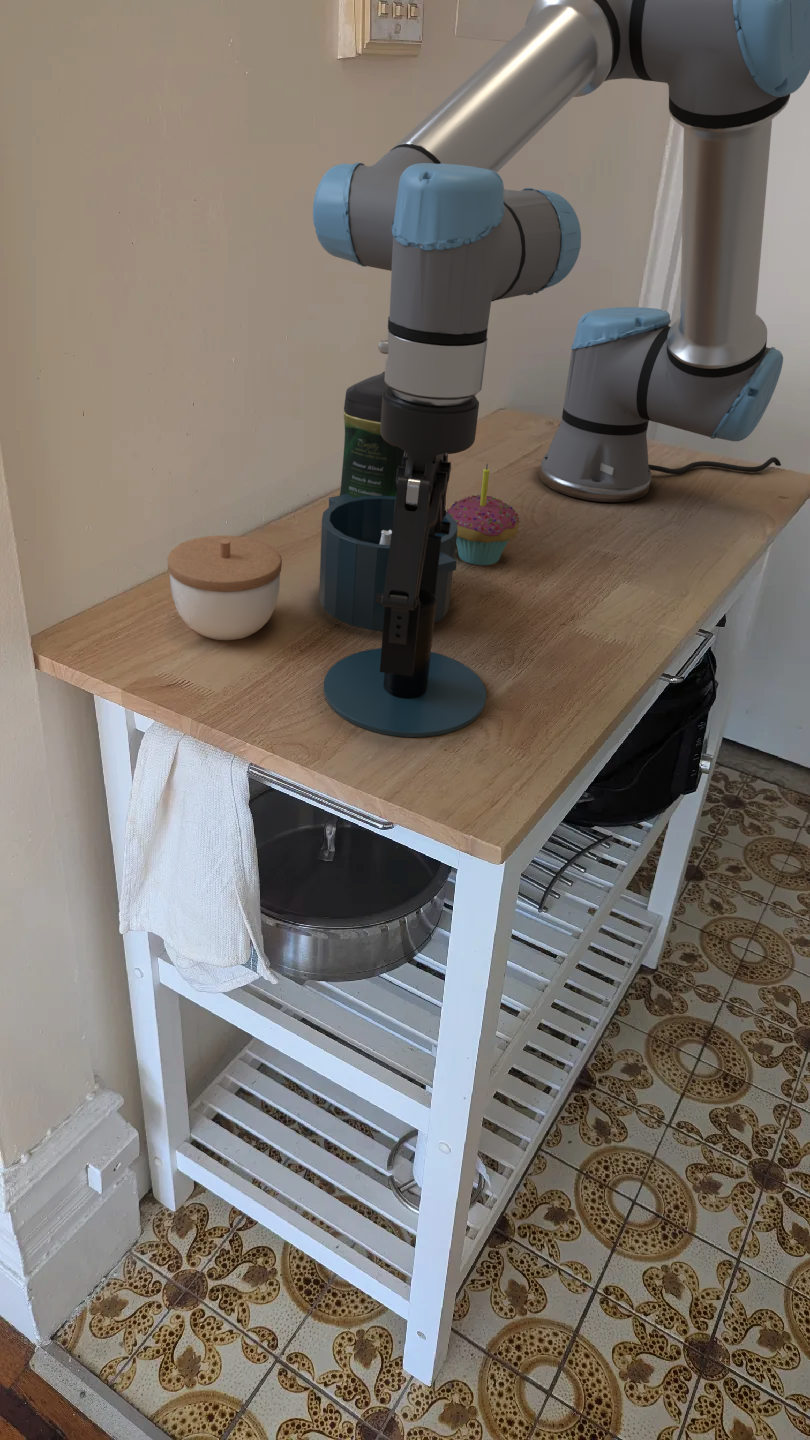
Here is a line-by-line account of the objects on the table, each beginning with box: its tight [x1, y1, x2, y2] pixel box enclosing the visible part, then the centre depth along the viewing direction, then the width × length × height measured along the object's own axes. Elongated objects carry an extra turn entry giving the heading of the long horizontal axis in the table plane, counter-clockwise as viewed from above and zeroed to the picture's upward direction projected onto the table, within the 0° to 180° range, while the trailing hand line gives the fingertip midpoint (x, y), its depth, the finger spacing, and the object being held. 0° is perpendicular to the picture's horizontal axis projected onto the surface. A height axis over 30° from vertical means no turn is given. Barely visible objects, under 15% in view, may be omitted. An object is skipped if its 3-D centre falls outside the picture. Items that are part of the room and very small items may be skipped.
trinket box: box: [167, 534, 283, 641], centre depth 102 cm, size 11×11×9 cm
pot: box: [318, 494, 458, 632], centre depth 109 cm, size 14×19×10 cm
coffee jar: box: [339, 370, 408, 498], centre depth 123 cm, size 10×8×19 cm
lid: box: [322, 589, 487, 738], centre depth 94 cm, size 15×15×10 cm
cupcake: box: [446, 462, 520, 566], centre depth 121 cm, size 9×8×12 cm
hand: (408, 635), depth 93 cm, fingers open, 13 cm apart
